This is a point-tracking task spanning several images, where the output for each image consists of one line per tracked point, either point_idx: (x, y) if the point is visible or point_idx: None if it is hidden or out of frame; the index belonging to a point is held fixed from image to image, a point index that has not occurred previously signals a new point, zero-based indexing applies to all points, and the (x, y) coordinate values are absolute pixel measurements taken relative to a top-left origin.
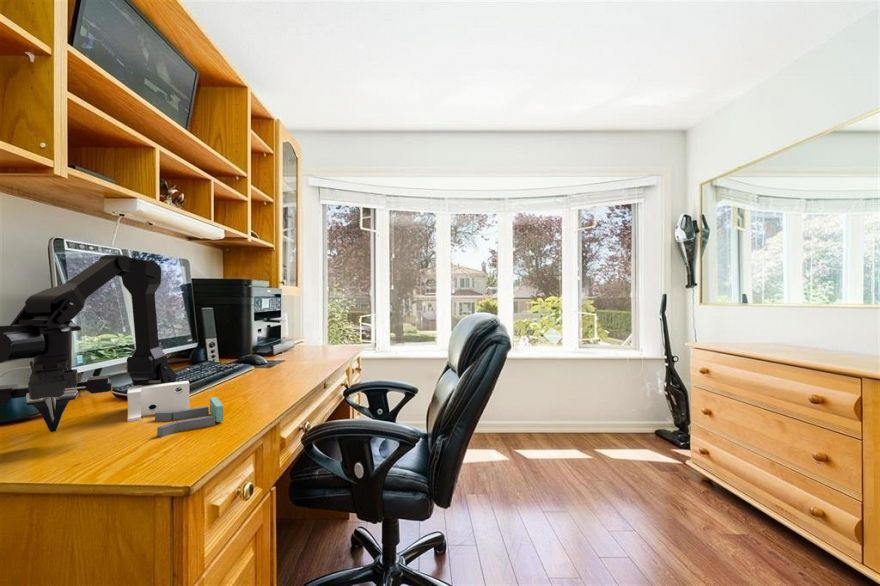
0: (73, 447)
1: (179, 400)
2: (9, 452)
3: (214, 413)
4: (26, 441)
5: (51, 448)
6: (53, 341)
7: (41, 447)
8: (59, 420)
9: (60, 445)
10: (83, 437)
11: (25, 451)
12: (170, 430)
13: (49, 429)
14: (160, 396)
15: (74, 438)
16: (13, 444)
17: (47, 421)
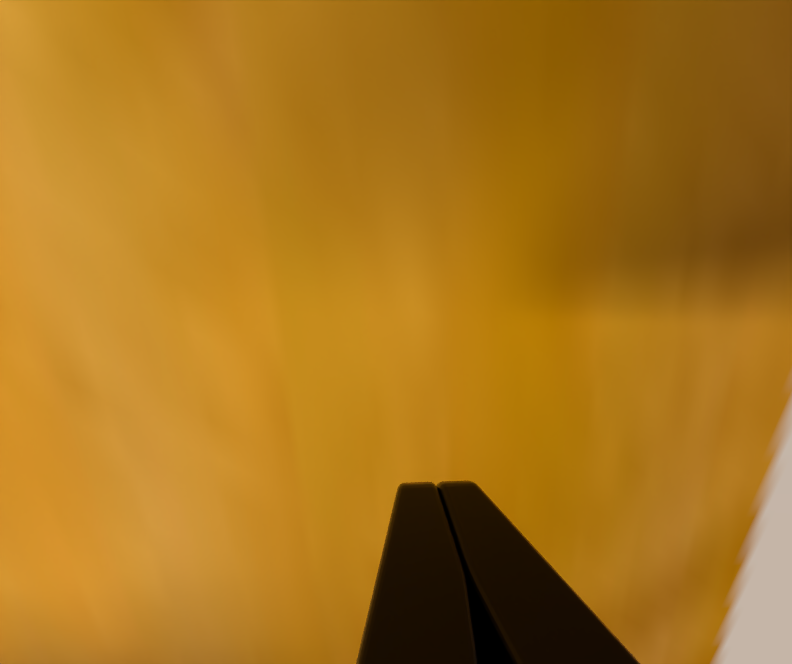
0: (116, 70)
1: None
2: (783, 379)
3: None
4: (606, 626)
5: (415, 245)
6: None
7: (514, 368)
8: (361, 650)
9: (320, 316)
10: (102, 494)
11: (666, 314)
12: None
13: (497, 515)
14: None
15: (202, 508)
16: (697, 598)
17: (587, 656)
